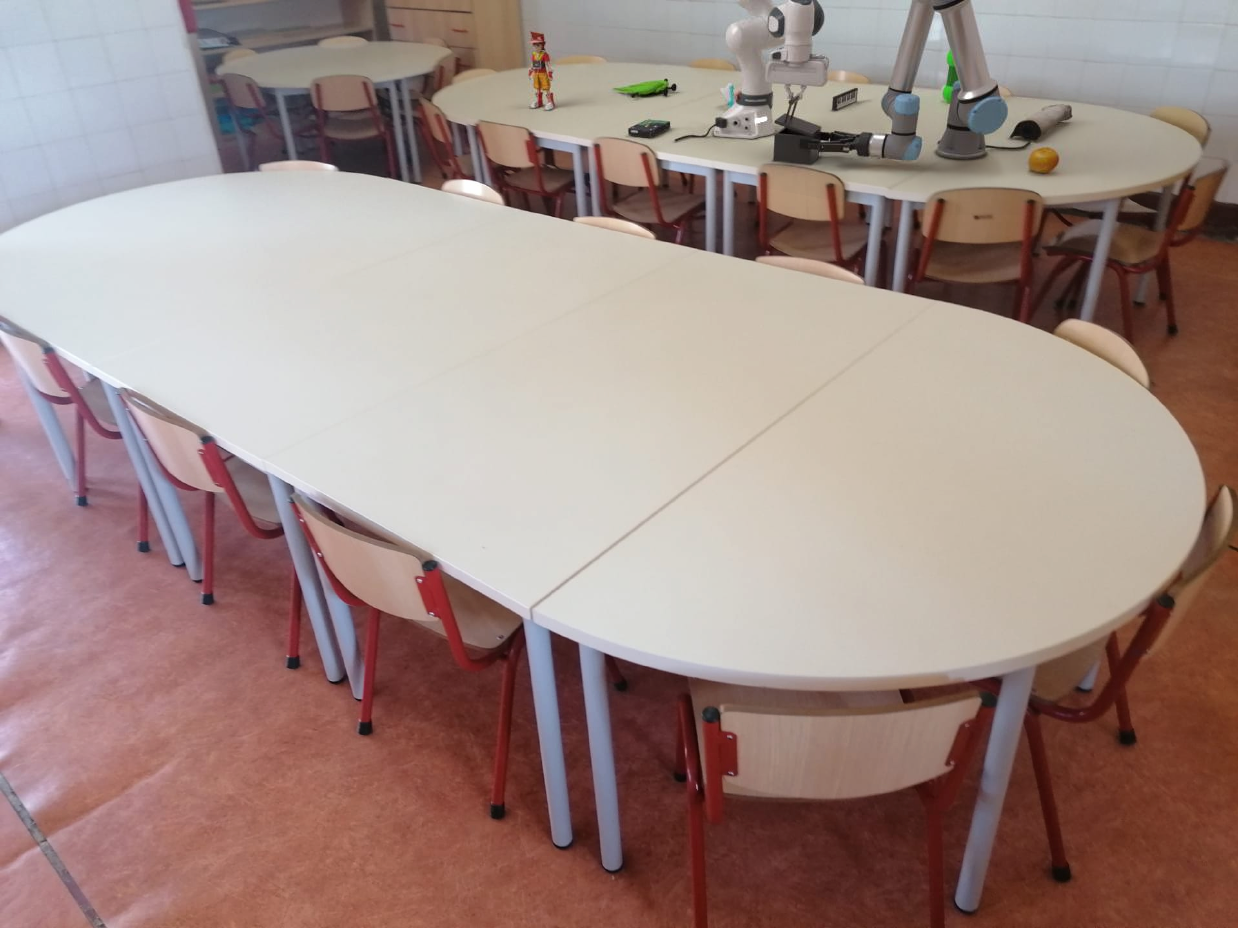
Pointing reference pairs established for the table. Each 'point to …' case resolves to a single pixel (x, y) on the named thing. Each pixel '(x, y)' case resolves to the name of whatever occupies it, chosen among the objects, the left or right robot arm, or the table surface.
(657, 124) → the disk drive
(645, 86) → the toy
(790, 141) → the chest
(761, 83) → the left robot arm
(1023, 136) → the rolled mat
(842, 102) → the midi keyboard
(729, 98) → the anatomical model
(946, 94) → the plastic bottle
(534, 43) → the toy
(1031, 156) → the fruit
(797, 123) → the lid
